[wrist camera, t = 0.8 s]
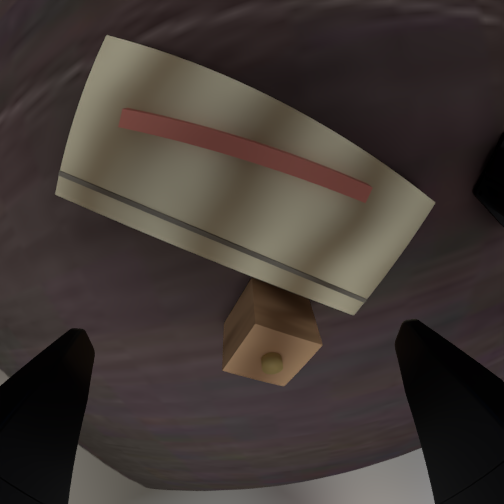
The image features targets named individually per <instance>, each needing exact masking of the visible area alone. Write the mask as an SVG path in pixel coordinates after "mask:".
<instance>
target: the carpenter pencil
mask: <svg viewBox="0 0 504 504" xmlns="http://www.w3.org/2000/svg"><path fill="white" fill-rule="evenodd" d="M118 127H120V128H125V129H129V130H134V131H138V132H143V133H147V134H151V135H155V136H160V137H164V138H168V139H172V140H175V141H179V142H183V143H187V144H191V145H194V146H198V147H202V148H205V149H209V150H212V151H216V152H219V153H223V154H226V155H229V156H233V157H236V158H239V159H243V160H246V161H249V162H252V163H255V164H259V165H262V166H265V167H268V168H271V169H274V170H277V171H280V172H283V173H286V174H289V175H292V176H294V177H297V178H300V179H303V180H306V181H309V182H311V183H314V184H317V185H320V186H322V187H325V188H328V189H330V190H333V191H336V192H338V193H341V194H343V195H346V196H348V197H351V198H354V199H356V200H359V201H361V202H364V203H366V201H367V199H368V197H369V195H370V193H371V191H372V188H373V187H371V186H370V185H369V184H367V183H365V182H362V181H360V180H358V179H355V178H353V177H351V176H348V175H346V174H343V173H341V172H339V171H336V170H334V169H331V168H328V167H326V166H323V165H321V164H318V163H316V162H313V161H310V160H308V159H305V158H302V157H300V156H297V155H294V154H291V153H288V152H286V151H283V150H280V149H277V148H274V147H271V146H268V145H265V144H262V143H259V142H256V141H253V140H250V139H246V138H243V137H240V136H237V135H233V134H230V133H227V132H223V131H220V130H216V129H213V128H209V127H206V126H202V125H198V124H195V123H191V122H187V121H183V120H179V119H175V118H171V117H167V116H163V115H158V114H154V113H149V112H145V111H140V110H135V109H131V108H123V109H122V113H121V117H120V121H119V126H118Z"/></svg>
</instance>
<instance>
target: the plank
mask: <svg viewBox="0 0 504 504" xmlns="http://www.w3.org/2000/svg"><path fill="white" fill-rule="evenodd" d="M123 108H131V109H135V110H140V111H145V112H149V113H154V114H158V115H163V116H167V117H171V118H175V119H179V120H183V121H187V122H191V123H195V124H198V125H202V126H206V127H209V128H213V129H216V130H220V131H223V132H227V133H230V134H233V135H237V136H240V137H243V138H246V139H250V140H253V141H256V142H259V143H262V144H265V145H268V146H271V147H274V148H277V149H280V150H283V151H286V152H288V153H291V154H294V155H297V156H300V157H302V158H305V159H308V160H310V161H313V162H316V163H318V164H321V165H323V166H326V167H328V168H331V169H334V170H336V171H339V172H341V173H343V174H346V175H348V176H351V177H353V178H355V179H358V180H360V181H362V182H365V183H367V184H369V185H370V186H371V187H373V188H372V191H371V193H370V195H369V197H368V199H367V201H366V203H364V202H361V201H359V200H356V199H354V198H351V197H348V196H346V195H343V194H341V193H338V192H336V191H333V190H330V189H328V188H325V187H322V186H320V185H317V184H314V183H311V182H309V181H306V180H303V179H300V178H297V177H294V176H292V175H289V174H286V173H283V172H280V171H277V170H274V169H271V168H268V167H265V166H262V165H259V164H255V163H252V162H249V161H246V160H243V159H239V158H236V157H233V156H229V155H226V154H223V153H219V152H216V151H212V150H209V149H205V148H202V147H198V146H194V145H191V144H187V143H183V142H179V141H175V140H172V139H168V138H164V137H160V136H155V135H151V134H147V133H143V132H138V131H134V130H129V129H125V128H120V127H118V126H119V121H120V117H121V113H122V109H123ZM55 195H58V196H60V197H62V198H64V199H67V200H69V201H71V202H73V203H76V204H78V205H80V206H83V207H85V208H87V209H90V210H92V211H94V212H97V213H99V214H101V215H103V216H106V217H108V218H110V219H113V220H115V221H118V222H120V223H122V224H125V225H127V226H129V227H132V228H134V229H136V230H139V231H141V232H144V233H146V234H148V235H151V236H153V237H156V238H158V239H160V240H163V241H165V242H168V243H170V244H172V245H175V246H177V247H180V248H182V249H185V250H187V251H190V252H192V253H194V254H197V255H199V256H202V257H204V258H207V259H209V260H212V261H214V262H217V263H219V264H222V265H224V266H227V267H229V268H232V269H234V270H237V271H239V272H242V273H244V274H247V275H249V276H252V277H254V278H257V279H259V280H262V281H265V282H267V283H270V284H272V285H275V286H277V287H280V288H283V289H285V290H288V291H290V292H293V293H296V294H298V295H301V296H303V297H306V298H309V299H311V300H314V301H316V302H319V303H322V304H324V305H327V306H330V307H332V308H335V309H338V310H340V311H343V312H346V313H348V314H351V315H354V314H355V313H356V312H357V311H358V309H359V308H360V307H361V306H362V305H363V303H365V302H366V301H367V298H368V297H369V296H370V295H371V293H372V292H373V291H374V290H375V288H376V287H377V286H378V284H379V283H380V282H381V280H382V279H383V278H384V277H385V275H386V274H387V273H388V271H389V270H390V269H391V267H392V266H393V264H394V263H395V262H396V260H397V259H398V258H399V256H400V255H401V253H402V252H403V251H404V249H405V248H406V246H407V245H408V244H409V242H410V241H411V239H412V238H413V236H414V235H415V233H416V232H417V231H418V229H419V228H420V226H421V225H422V223H423V222H424V220H425V219H426V217H427V215H428V214H429V212H430V211H431V209H432V208H433V206H434V205H435V202H434V201H433V200H431V199H430V198H429V197H428V196H426V195H425V194H424V193H423V192H421V191H420V190H419V189H417V188H416V187H415V186H414V185H412V184H411V183H410V182H408V181H407V180H406V179H404V178H403V177H401V176H400V175H399V174H397V173H396V172H395V171H393V170H392V169H390V168H389V167H388V166H386V165H385V164H383V163H382V162H380V161H379V160H378V159H376V158H375V157H373V156H372V155H370V154H369V153H367V152H366V151H364V150H363V149H361V148H360V147H358V146H356V145H355V144H353V143H352V142H350V141H349V140H347V139H345V138H344V137H342V136H341V135H339V134H337V133H336V132H334V131H332V130H331V129H329V128H327V127H326V126H324V125H322V124H320V123H319V122H317V121H315V120H313V119H312V118H310V117H308V116H306V115H305V114H303V113H301V112H299V111H297V110H295V109H294V108H292V107H290V106H288V105H286V104H284V103H282V102H280V101H278V100H276V99H274V98H272V97H270V96H268V95H266V94H264V93H262V92H260V91H258V90H256V89H254V88H252V87H250V86H247V85H245V84H243V83H241V82H239V81H236V80H234V79H232V78H230V77H227V76H225V75H223V74H220V73H218V72H216V71H213V70H211V69H208V68H206V67H203V66H201V65H198V64H196V63H193V62H190V61H188V60H185V59H182V58H179V57H177V56H174V55H171V54H168V53H165V52H162V51H159V50H156V49H153V48H150V47H147V46H143V45H140V44H137V43H133V42H130V41H126V40H123V39H119V38H115V37H111V36H108V35H106V38H105V40H104V42H103V44H102V46H101V48H100V51H99V53H98V55H97V57H96V60H95V62H94V65H93V67H92V69H91V72H90V74H89V77H88V80H87V82H86V85H85V88H84V90H83V93H82V96H81V99H80V102H79V105H78V108H77V111H76V114H75V117H74V120H73V123H72V127H71V130H70V134H69V137H68V141H67V144H66V148H65V152H64V156H63V160H62V164H61V169H60V171H59V178H58V183H57V188H56V193H55Z"/></svg>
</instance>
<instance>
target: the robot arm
mask: <svg viewBox="0 0 504 504" xmlns="http://www.w3.org/2000/svg"><path fill="white" fill-rule="evenodd" d="M479 190H480V191H479ZM478 192H479V193H478ZM474 195H475V197H476V198H477V199H478V200H479V201H480V202H481V203H482V204H483V205H484V206H485V207H486V208H487V209H488V211H489V212H490V213H491V214H492V215H493V216H494V217H495V218H496V220H497V221H498V222H499V223H500V224H501V225H502V226H503V227H504V133H503V135H502V137H501V139H500V141H499V143H498V145H497V147H496V149H495V151H494V153H493V155H492V157H491V159H490V161H489V163H488V165H487V166H486V168H485V170H484V172H483V174H482V176H481V177H480V179H479V181H478V183H477V185H476V186H475V188H474ZM395 350H396V354H397V358H398V362H399V367H400V371H401V375H402V380H403V385H404V389H405V393H406V396H407V400H408V403H409V406H410V409H411V412H412V415H413V419H414V422H415V425H416V429H417V432H418V436H419V439H420V443H421V447H422V450H423V454H424V458H425V462H426V466H427V470H428V474H429V478H430V483H431V487H432V491H433V496H434V501H435V504H504V382H503V380H501V379H500V378H499V377H497V376H496V375H495V374H493V373H492V372H491V371H489V370H488V369H487V368H485V367H484V366H482V365H481V364H480V363H478V362H477V361H476V360H474V359H473V358H471V357H470V356H469V355H467V354H466V353H464V352H463V351H462V350H460V349H459V348H457V347H456V346H455V345H453V344H452V343H450V342H449V341H448V340H446V339H445V338H443V337H442V336H441V335H439V334H438V333H436V332H435V331H433V330H432V329H431V328H429V327H428V326H426V325H425V324H423V323H422V322H420V321H419V320H417V319H411V320H405V321H404V322H403V323H402V325H401V327H400V330H399V333H398V335H397V338H396V341H395ZM94 357H95V352H94V348H93V346H92V344H91V342H90V339H89V337H88V335H87V333H86V331H85V330H84V329H77V328H72V329H70V330H69V331H67V332H66V333H65V334H63V335H62V336H61V337H60V338H58V339H57V340H56V341H55V342H53V343H52V344H51V345H49V346H48V347H47V348H46V349H44V350H43V351H42V352H41V353H39V354H38V355H37V356H36V357H35V358H33V359H32V360H31V361H30V362H28V363H27V364H26V365H25V366H23V367H22V368H21V369H20V370H19V371H17V372H16V373H15V374H14V375H13V376H11V377H10V378H9V379H8V380H7V381H6V382H4V383H3V384H2V385H1V386H0V504H68V500H69V492H70V485H71V478H72V472H73V466H74V461H75V455H76V450H77V445H78V440H79V435H80V430H81V426H82V421H83V417H84V413H85V409H86V404H87V400H88V394H89V387H90V381H91V374H92V368H93V363H94Z"/></svg>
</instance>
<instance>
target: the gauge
mask: <svg viewBox="0 0 504 504" xmlns="http://www.w3.org/2000/svg"><path fill="white" fill-rule="evenodd" d="M322 345H323V344H322V341H321V337H320V334H319V331H318V327H317V324H316V320H315V317H314V314H313V310H312V307H311V304H310V300H309V299H307V298H304V297H301V296H299V295H296V294H293V293H291V292H288V291H286V290H283V289H280V288H278V287H275V286H273V285H270V284H268V283H265V282H262V281H260V280H257V279H255V278H251V280H250V281H249V283H248V285H247V286H246V288H245V290H244V291H243V293H242V295H241V296H240V298H239V300H238V301H237V303H236V304H235V306H234V308H233V309H232V311H231V313H230V314H229V316H228V318H227V319H226V321H225V323H224V336H223V365H222V370H223V371H226V372H230V373H233V374H237V375H240V376H244V377H248V378H252V379H256V380H260V381H264V382H268V383H272V384H276V385H281V386H285V385H286V384H287V383H288V382H289V381H290V380H291V379H292V378H293V377H294V376H295V375H296V374H297V372H298V371H299V370H300V369H301V368H302V367H303V366H304V365H305V364H306V363H307V362H308V361H309V360H310V359H311V357H312V356H313V355H314V354H315V353H316V352H317V351H318V350H319V349H320V347H321V346H322Z"/></svg>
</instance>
